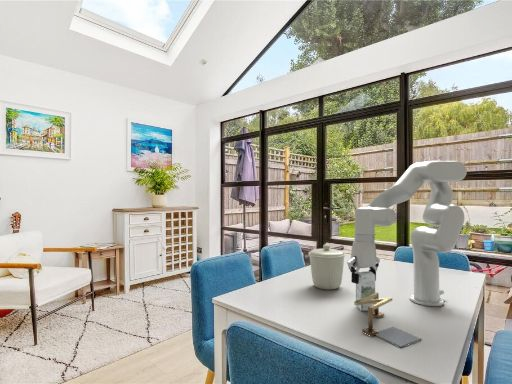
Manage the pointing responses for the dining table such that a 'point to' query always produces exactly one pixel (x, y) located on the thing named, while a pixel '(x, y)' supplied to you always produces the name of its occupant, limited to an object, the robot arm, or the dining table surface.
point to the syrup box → (365, 288)
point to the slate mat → (397, 336)
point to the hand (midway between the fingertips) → (363, 281)
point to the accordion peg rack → (371, 313)
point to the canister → (327, 267)
